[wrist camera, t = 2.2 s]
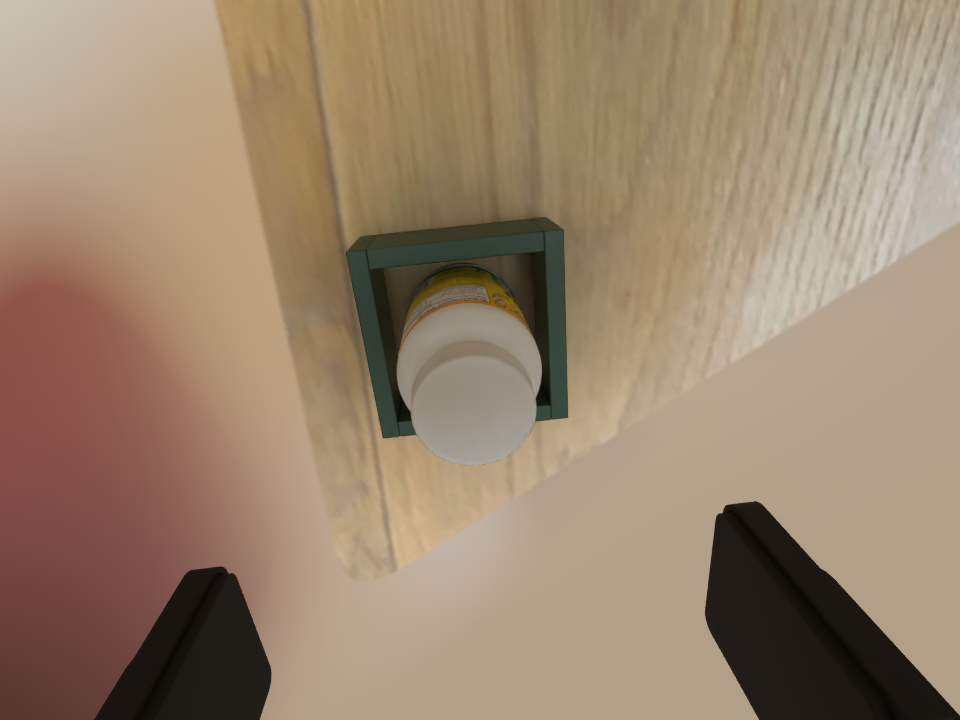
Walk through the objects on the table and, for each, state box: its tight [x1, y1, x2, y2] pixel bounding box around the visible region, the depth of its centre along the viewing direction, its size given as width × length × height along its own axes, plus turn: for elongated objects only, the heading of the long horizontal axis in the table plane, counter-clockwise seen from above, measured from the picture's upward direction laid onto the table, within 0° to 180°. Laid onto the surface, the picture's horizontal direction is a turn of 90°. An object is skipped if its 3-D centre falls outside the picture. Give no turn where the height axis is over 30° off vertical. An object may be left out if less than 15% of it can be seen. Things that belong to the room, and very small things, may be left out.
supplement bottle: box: [397, 264, 542, 465], centre depth 20 cm, size 5×5×10 cm
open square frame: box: [346, 218, 568, 438], centre depth 23 cm, size 9×9×4 cm
